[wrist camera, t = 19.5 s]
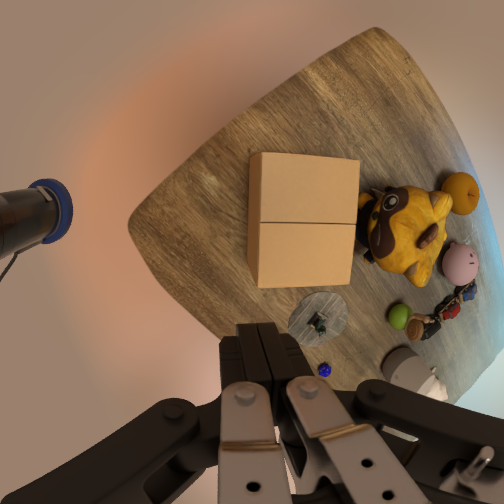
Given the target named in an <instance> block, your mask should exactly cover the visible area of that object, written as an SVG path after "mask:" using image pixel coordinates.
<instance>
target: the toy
mask: <svg viewBox="0 0 504 504" xmlns="http://www.w3.org/2000/svg"><path fill="white" fill-rule="evenodd" d="M442 268H443V272H444V274H445V276H446V278H447V279H448V280H449V281H450V282H451V283H452V284H454V285H458V286H462V285H466V284H468V283H470V282H471V281H472V280H473V279H474V278H475V276H476V274H477V272H478V268H479V263H478V258H477V255H476V253H475V252H474V251H473V249H472V248H470V247H469V246H467V245H465V244H456V245H455V243H454V242H452V243H451V244H450V248H449V249H448V250H447V252H446V253H445V255H444V257H443V262H442Z"/></svg>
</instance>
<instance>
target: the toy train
mask: <svg viewBox="0 0 504 504" xmlns="http://www.w3.org/2000/svg"><path fill="white" fill-rule="evenodd" d="M456 291H457V292H456V295H455V296H454V297H453V298H452V297H449V296H448V297H446V298H445V300H444V301H445V302H446V303H445V304H444V305H438V306H437V307H436V310H437V311H436V315H434V317H431V316H428V317H429V318H430V320H431V319H432V320H434V322H432V323H430V322H428V323H424V322H423V328H424V330H423V335H422V337H421V338H420V340H422V341H424V340H425V339H429V338H430V337H431V336H432V335H434V334H435V333H436V332H437V331H438V330H439V329H440V328H441V324H440V322H441V323H443V322H444V320H446V319H449V318H451V319H453V318H454V317H455V316H456V315H457V314H458V313H459V312H460V304H459V303H461V304H462V303H463V302H464V301H467V300H473V299H474V297H475V295H474V294H475V293H476V292H477V285H476V281H475V279H473V280H472V281H471V282H470V283H468V284H466V285H463V286H462V287H461V286H458V287H456ZM458 299H459V303H458V301H457V300H458ZM438 319H440V322H439V321H438Z"/></svg>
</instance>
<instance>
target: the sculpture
mask: <svg viewBox="0 0 504 504" xmlns="http://www.w3.org/2000/svg"><path fill="white" fill-rule="evenodd" d="M348 314H349V310H348V308H347V305H346V303H345V302H344V300H343V299H342V297H341V296H339V295H338V294H336V293H333V292H317V293H313V294H311V295H309V296H308V297H306V298H305V299H303V300H302V301H301V303H300V307H298V308H297V309H296V310H295V311H294V312H293V313H292V315H291V317H290V319H289V326H288V331H289V334H290V335H291V336H292V337H293V338H295V339H296V340H297V342H298V343H299V344H301V345H302V346H304V347H311V346H312V347H317V346H322V345H324V344H325V343H326V342H327V341H328V340H329V339H330V338H335V337H337V336H338V335H339V334H340V333H341V332H342V331H343V329H344V328H345V327H346V323H347V318H348Z"/></svg>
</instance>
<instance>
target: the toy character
mask: <svg viewBox="0 0 504 504" xmlns="http://www.w3.org/2000/svg"><path fill="white" fill-rule="evenodd" d="M371 190H372V191H373V192H374V194H375V196H376V199H374V198H373V197H372V196H370V195H369V194H368V193H358V208H359V209H360V210H361V215H359V216H358V221H357V222H356V224H355V225H356V230H355V240H354V241H356V242H360V243H361V244H362V245H363V246H365V247H366V248H368V249H369V250H368V251H367V252H366V253H365V254H364V261H365V262H366V263H368V264H373V263H374V262H375V261H376V263H377V264H378V265H379V266H380V267H381V268H382V269H383V270H385V271H388V272H392V273H398V274H403V275H405V277H406V278H407V279H408V280H409V281H410V282H411V283H412V284H413V285H415V286H417V287H423V286H426V284H427V283H428V281H429V278H430V276H431V272H432V270H433V269H434V265H433V264H434V262H435V260H436V259H437V257H438V255H439V253H440V250H441V248H442V245H443V241H445V240H446V238H447V233H446V230H445V229H444V228H445V223H446V217H447V215H448V213H449V212H450V210H451V207H452V204H453V200H452V197H451V195H450V194H448V193H447V192H442V191H431V192H428V191H425V190H424V189H421V188H417V187H413V186H401V187H398V188H395V187H394V186H393V185H391V184H389V185H387V186H386V187H385V191H386V193H382V192H381V191H379V190H376V189H371Z"/></svg>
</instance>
